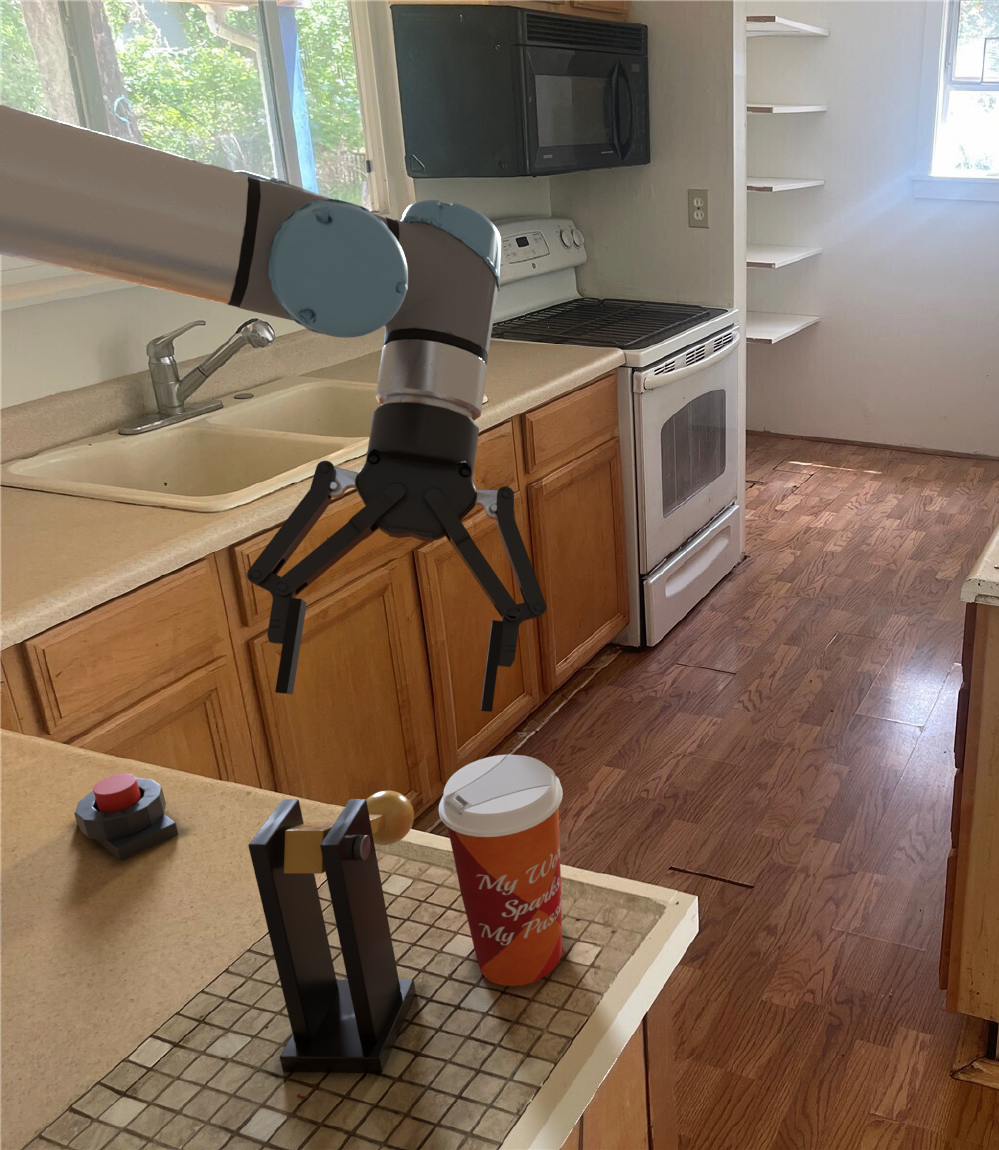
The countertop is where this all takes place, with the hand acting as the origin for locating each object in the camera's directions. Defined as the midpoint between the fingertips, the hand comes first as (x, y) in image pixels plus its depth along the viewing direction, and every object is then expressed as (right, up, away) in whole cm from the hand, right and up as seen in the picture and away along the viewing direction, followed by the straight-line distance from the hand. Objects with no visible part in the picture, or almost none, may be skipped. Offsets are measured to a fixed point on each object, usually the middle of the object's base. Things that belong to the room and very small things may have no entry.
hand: (387, 703), depth 76 cm
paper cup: (+10, -17, -3) cm, 20 cm away
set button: (-25, -9, +10) cm, 28 cm away
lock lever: (+1, -9, -9) cm, 12 cm away
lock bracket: (+1, -20, -9) cm, 21 cm away
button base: (-25, -12, +11) cm, 29 cm away
